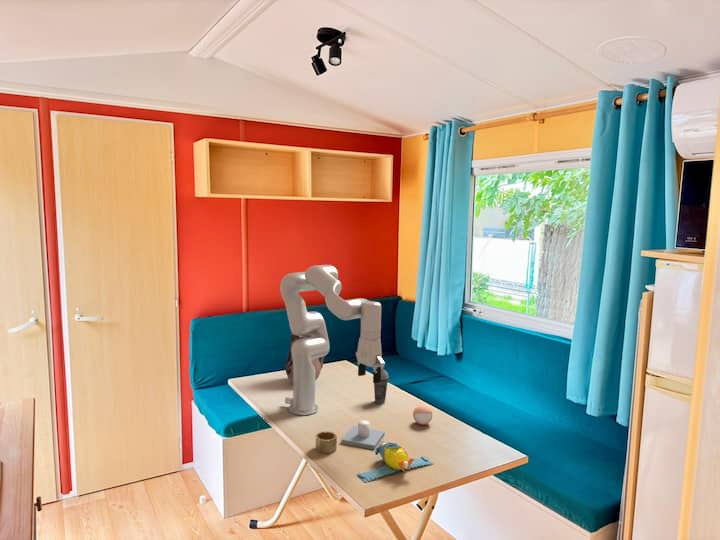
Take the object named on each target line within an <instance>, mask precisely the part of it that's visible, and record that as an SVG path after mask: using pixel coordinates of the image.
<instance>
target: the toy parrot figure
mask: <svg viewBox="0 0 720 540" xmlns="http://www.w3.org/2000/svg"><path fill="white" fill-rule="evenodd" d="M378 454H379V455H380V457H381V458H382V460H383V463H384V464H385V465H383V466H381V467H380V466H379V467H377V468H375V469H371V470H367V471H365V472H362V473H361V472H359V473H357V474H356V476H357V477H359V479H360V480H361V481H362V482H363V483H368V482H371V481H374V480H375V479H379V478H382V477H385V476H386V475H388V476H389V475H391V474H393V473H397V472H400V471H403V473H406V472H405V470H408V471H410V470H411V468H412V469H414V468H417V467H422V466H423V467H424V466H427V465H429V466H430V465H434V462H433V461H431V460H429V458H428V457H427V456H421V457H418V458H412V457H411V458H409V455H408V453H407V452H406V450H405V448H403V447H402V446H401V445H400V444H398V443H396V442H395V443H394V442H388V441H386V442H385V441H382V442H381V443H380V444H378V445H377V447H376V448H375V451H374V455H375V456H378Z"/></svg>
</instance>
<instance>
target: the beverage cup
mask: <svg viewBox="0 0 720 540" xmlns="http://www.w3.org/2000/svg"><path fill="white" fill-rule="evenodd" d="M389 379H390V377H389V373H388V372H387V371H386V370H385V368H384V369H383V370H382V372H381V382H379V383H373V389H374V392H373V393H374V403H375V404H377V405H384V404H385V403H386V398H387V397H386V396H387V389H388V384H389ZM383 403H384V404H383Z"/></svg>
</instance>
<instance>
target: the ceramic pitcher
mask: <svg viewBox="0 0 720 540" xmlns="http://www.w3.org/2000/svg"><path fill="white" fill-rule="evenodd" d="M307 337H312V336H311V334H307V335H300V336H296V335H294V334H293V333H291V334H290V341H291V342H290V346H289V347H290V348H289V350H288V351H289V352H288V354H287V358H286V363H285V373H286V376H287V379H289V381H290V382H291V383H293V358H292V352H291V348H292V345H293V343H294V342H295V341H297V340H299V339H303V338H307ZM325 356H326V355H325ZM325 356H323V357H319V358H315V359H312V363H313V365H314V367H315V372H316V373H315V382H316V381H317V379H318V378H319V377H320V375H321V371H322V369H323V366H324V359H325Z"/></svg>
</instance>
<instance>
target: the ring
mask: <svg viewBox="0 0 720 540" xmlns="http://www.w3.org/2000/svg"><path fill="white" fill-rule="evenodd" d="M337 440H338V436H337V434H336V433H334V432H333V431H327V430H326V431H320V432H318V433H316V435H315V451H316V452H317V453H318V452H319V453H318V454H321V453H323V455H330V454H333V453H335V452H336V451H337V447H338V446H337V443H338V441H337Z"/></svg>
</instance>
